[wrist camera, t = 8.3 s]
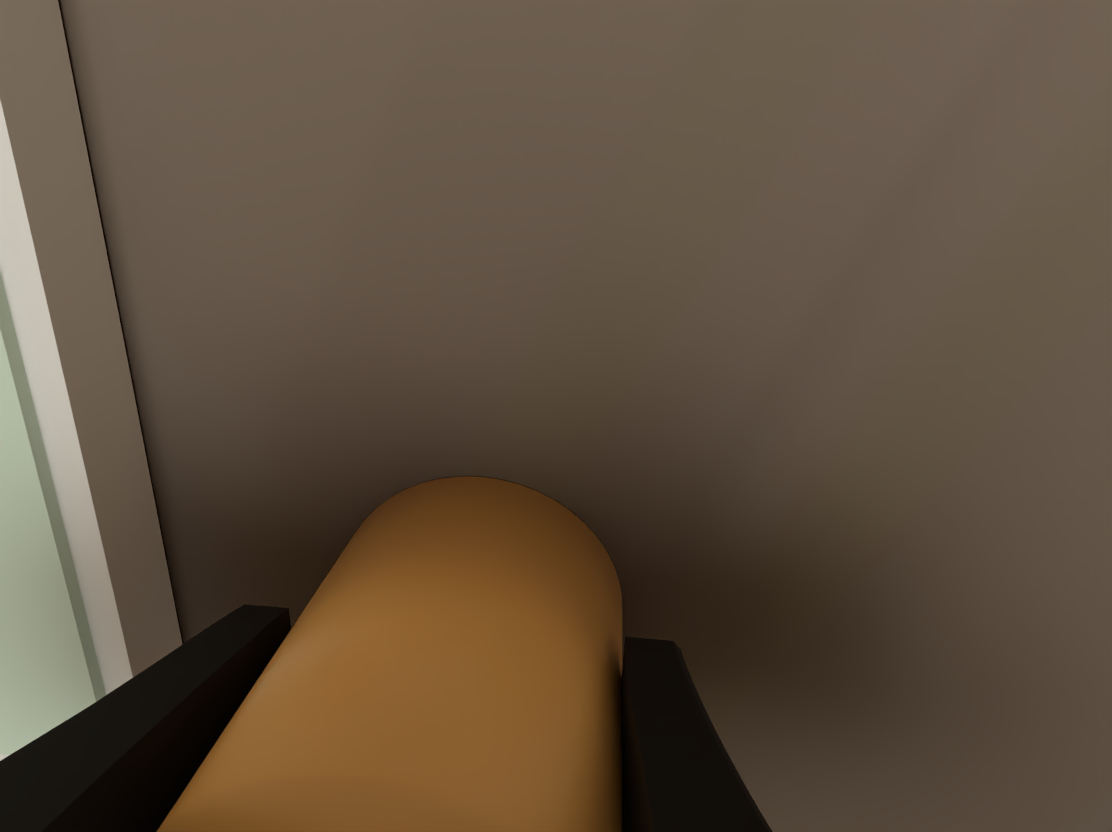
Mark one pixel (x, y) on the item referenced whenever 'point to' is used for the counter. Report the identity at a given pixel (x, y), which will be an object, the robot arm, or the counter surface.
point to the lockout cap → (436, 681)
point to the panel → (64, 415)
